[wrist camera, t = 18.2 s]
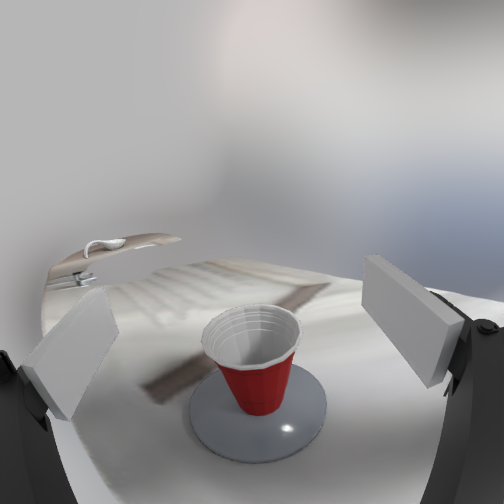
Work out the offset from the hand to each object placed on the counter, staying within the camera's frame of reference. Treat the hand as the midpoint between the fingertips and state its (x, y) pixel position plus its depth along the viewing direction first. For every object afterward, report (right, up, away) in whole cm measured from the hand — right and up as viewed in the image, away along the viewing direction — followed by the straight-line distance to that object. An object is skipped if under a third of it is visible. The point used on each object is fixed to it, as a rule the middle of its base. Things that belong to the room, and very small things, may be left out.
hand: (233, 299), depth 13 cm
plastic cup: (+2, -17, +19) cm, 26 cm away
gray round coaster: (+2, -19, +19) cm, 27 cm away
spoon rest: (-72, +2, +109) cm, 131 cm away
